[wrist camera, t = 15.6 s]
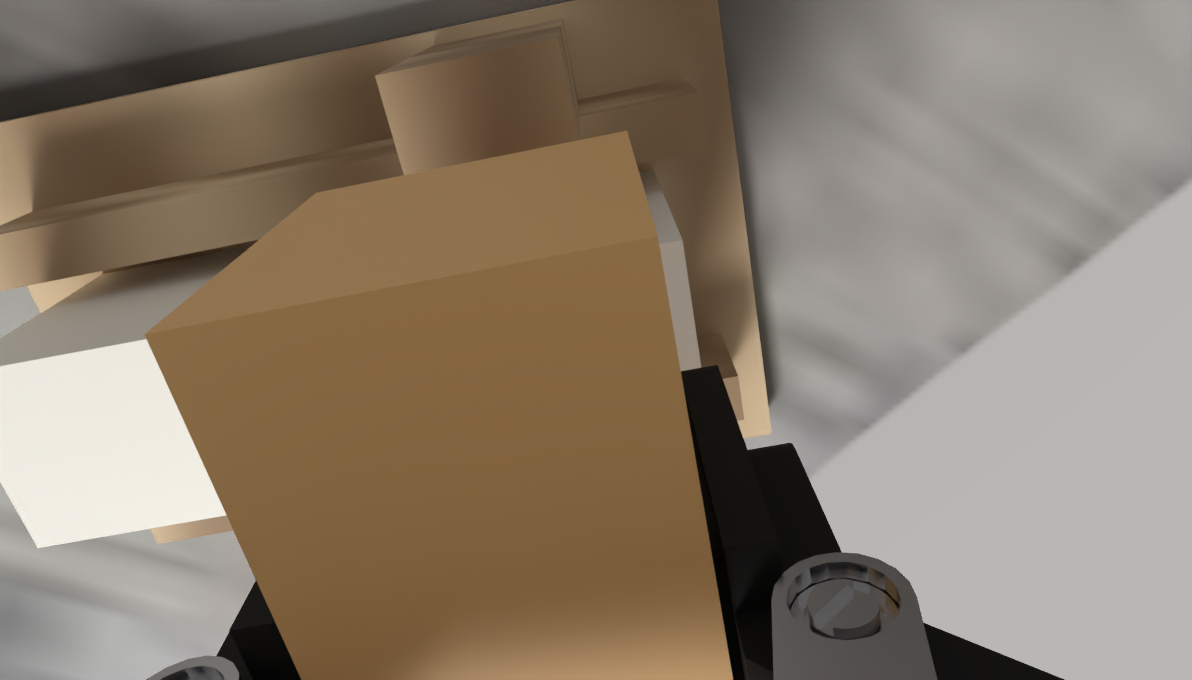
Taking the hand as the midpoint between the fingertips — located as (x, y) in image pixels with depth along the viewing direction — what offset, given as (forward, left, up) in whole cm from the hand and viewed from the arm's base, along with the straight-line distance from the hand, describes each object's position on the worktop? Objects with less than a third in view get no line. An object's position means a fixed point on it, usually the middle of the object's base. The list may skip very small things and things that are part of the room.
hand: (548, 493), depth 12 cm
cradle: (-4, 0, -11) cm, 12 cm away
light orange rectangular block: (0, 0, 0) cm, 0 cm away
